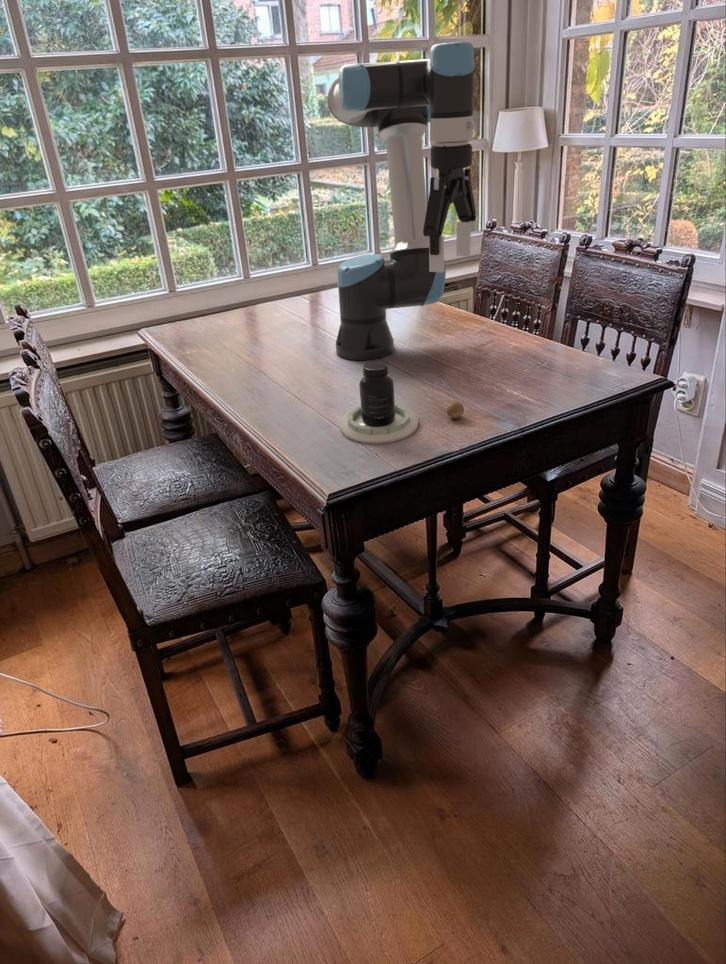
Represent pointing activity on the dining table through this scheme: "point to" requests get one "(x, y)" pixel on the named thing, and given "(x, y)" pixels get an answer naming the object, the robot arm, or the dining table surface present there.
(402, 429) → the plate
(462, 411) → the wooden bead
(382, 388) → the supplement bottle
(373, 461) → the dining table surface
